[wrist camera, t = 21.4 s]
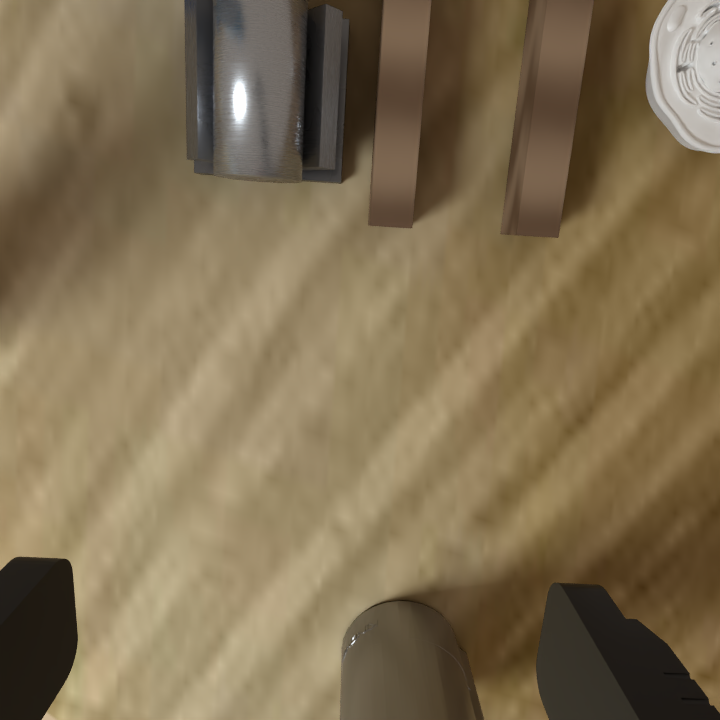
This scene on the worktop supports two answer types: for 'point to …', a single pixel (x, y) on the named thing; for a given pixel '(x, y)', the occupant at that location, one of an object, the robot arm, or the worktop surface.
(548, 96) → the slotted block
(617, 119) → the worktop surface
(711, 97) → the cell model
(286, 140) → the grey metal cylinder
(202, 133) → the v block
